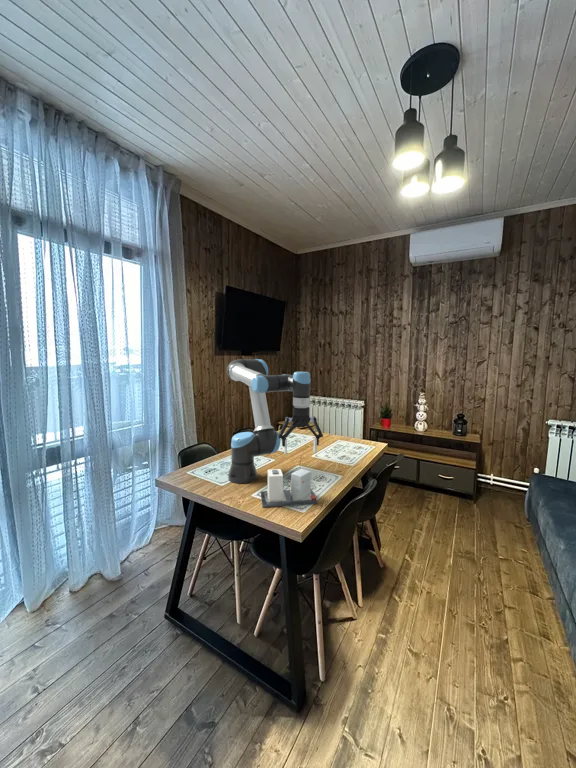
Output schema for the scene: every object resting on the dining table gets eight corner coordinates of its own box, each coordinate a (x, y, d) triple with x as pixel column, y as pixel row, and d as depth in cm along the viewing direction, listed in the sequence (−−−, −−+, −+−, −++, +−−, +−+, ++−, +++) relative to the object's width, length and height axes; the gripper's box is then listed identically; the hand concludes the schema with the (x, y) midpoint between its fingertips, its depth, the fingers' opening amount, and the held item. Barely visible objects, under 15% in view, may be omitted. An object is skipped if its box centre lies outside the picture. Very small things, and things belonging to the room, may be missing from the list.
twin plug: (269, 500, 133) (269, 475, 132) (267, 492, 141) (267, 468, 140) (282, 500, 134) (283, 474, 133) (280, 491, 142) (280, 467, 141)
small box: (301, 489, 144) (301, 468, 143) (310, 493, 141) (311, 471, 140) (290, 495, 138) (290, 473, 137) (300, 499, 135) (300, 476, 134)
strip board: (262, 507, 131) (262, 502, 131) (260, 494, 143) (260, 489, 143) (317, 503, 135) (317, 498, 135) (311, 491, 147) (311, 486, 146)
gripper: (274, 408, 131) (273, 456, 134) (330, 407, 135) (329, 454, 137) (272, 405, 139) (272, 450, 141) (326, 404, 142) (324, 449, 145)
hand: (300, 452), depth 139 cm, fingers open, 13 cm apart
